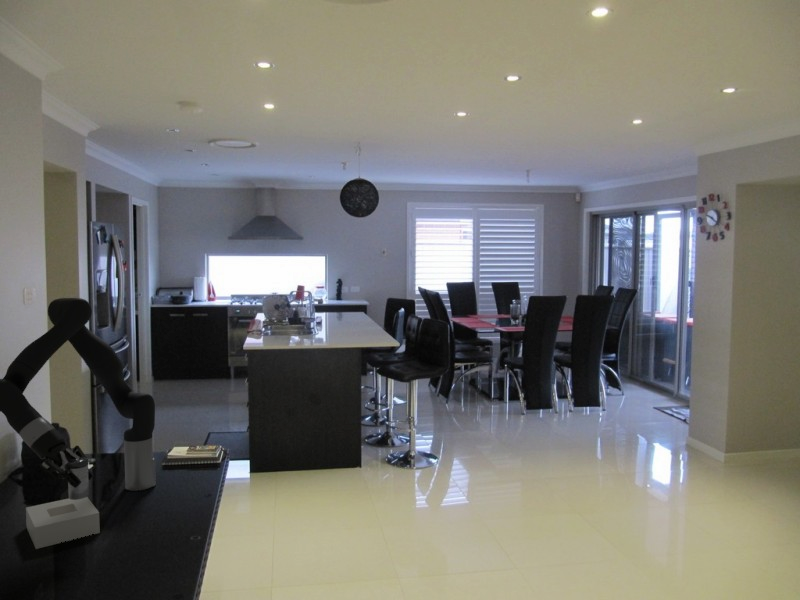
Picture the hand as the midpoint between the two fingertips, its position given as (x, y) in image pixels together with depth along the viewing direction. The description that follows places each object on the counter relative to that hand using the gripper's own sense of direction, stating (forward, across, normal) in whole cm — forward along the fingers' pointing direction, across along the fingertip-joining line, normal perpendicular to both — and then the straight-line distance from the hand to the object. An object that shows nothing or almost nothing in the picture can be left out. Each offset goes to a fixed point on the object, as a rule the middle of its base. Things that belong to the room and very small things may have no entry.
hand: (84, 481), depth 167 cm
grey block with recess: (+3, +8, +22) cm, 24 cm away
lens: (+2, 0, +4) cm, 5 cm away
